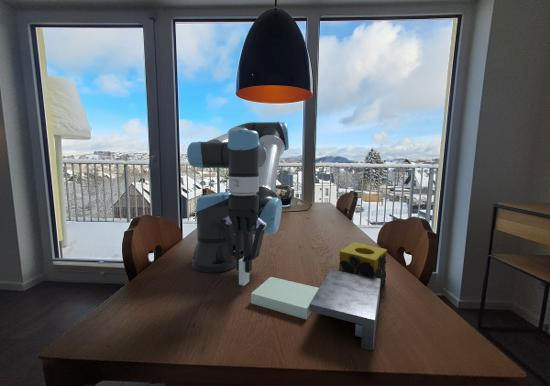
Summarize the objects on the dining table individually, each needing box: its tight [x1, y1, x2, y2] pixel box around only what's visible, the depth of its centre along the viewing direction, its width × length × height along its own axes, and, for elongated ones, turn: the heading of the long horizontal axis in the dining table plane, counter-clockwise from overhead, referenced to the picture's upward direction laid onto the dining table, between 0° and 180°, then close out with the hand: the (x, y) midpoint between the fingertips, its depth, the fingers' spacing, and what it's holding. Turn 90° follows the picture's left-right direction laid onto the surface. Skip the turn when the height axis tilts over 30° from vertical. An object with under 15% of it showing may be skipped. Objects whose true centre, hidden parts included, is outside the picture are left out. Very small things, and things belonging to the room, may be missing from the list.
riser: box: [309, 269, 381, 352], centre depth 57 cm, size 12×18×6 cm, turn 155°
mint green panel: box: [250, 276, 320, 320], centre depth 63 cm, size 14×10×3 cm
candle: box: [338, 241, 388, 289], centre depth 72 cm, size 10×10×10 cm
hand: (244, 282), depth 68 cm, fingers closed
